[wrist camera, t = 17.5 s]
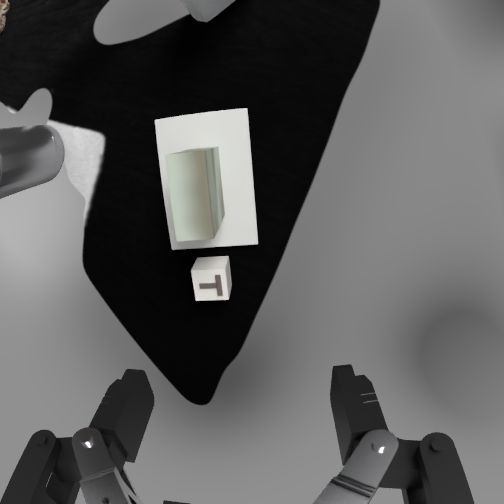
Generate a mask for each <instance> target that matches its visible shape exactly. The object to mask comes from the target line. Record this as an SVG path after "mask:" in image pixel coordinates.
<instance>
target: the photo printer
mask: <svg viewBox="0 0 504 504" xmlns="http://www.w3.org/2000/svg"><path fill="white" fill-rule="evenodd" d="M181 1H182V3H183V4H184V5H185V7H186V8H187V10H188V11H189V12H190V14H191V15H192V16H193V18H194V19H196V20H198V21H203V22H204V21H205V22H208V21H210V20H211V19H213V18H214V17H215V16H217V15H218V14H219V13H220V12H222V11H223V10H224V9H225V8H227V7H228V6H229V5H230V4H231V3H233V2H234V1H235V0H181Z"/></svg>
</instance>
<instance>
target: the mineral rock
mask: <svg viewBox="0 0 504 504" xmlns="http://www.w3.org/2000/svg"><path fill="white" fill-rule="evenodd" d="M9 4H10V3H9V2H8V0H0V35H1V32H2V31H3V30H4V27H5V21H6V19H5V18H6V13H7V11H8V10H9V6H10V5H9Z"/></svg>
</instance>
